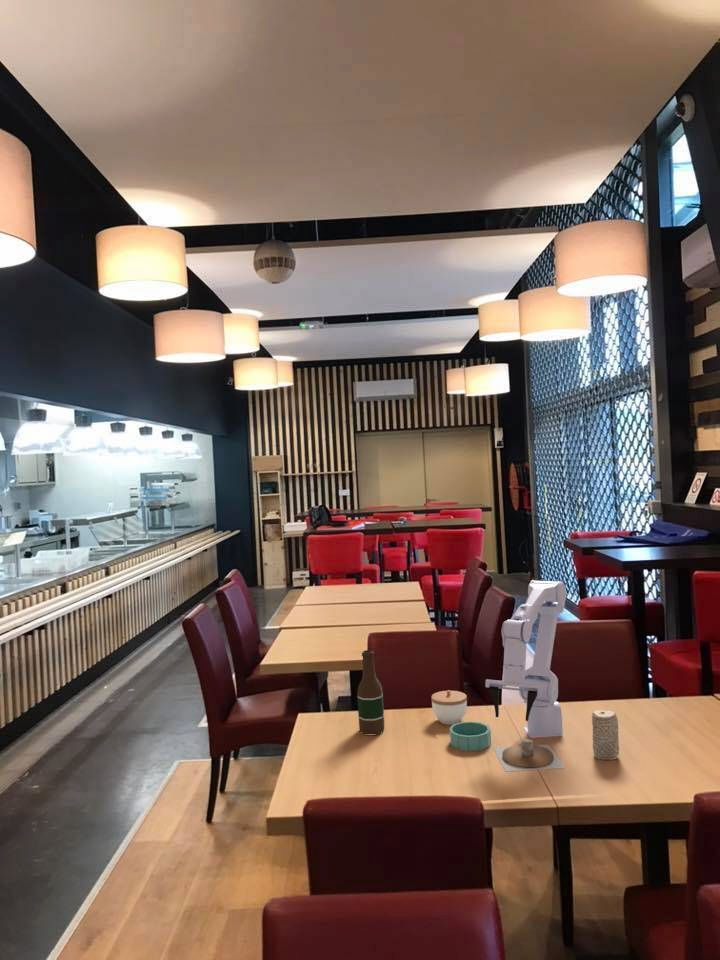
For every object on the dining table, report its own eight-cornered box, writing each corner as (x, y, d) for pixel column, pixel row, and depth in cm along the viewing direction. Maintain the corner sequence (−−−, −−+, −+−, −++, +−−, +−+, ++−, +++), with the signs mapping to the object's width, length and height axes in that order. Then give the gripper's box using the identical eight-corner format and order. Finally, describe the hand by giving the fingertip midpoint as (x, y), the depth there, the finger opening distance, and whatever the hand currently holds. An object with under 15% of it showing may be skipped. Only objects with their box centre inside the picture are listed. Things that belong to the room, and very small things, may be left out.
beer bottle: (389, 728, 214) (385, 649, 213) (376, 737, 207) (371, 655, 206) (368, 724, 218) (363, 646, 217) (354, 733, 211) (349, 653, 211)
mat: (548, 746, 194) (548, 744, 193) (565, 770, 178) (564, 767, 178) (493, 750, 193) (493, 747, 193) (505, 773, 178) (505, 771, 178)
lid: (545, 746, 192) (544, 730, 192) (559, 766, 180) (559, 749, 179) (497, 749, 192) (497, 733, 192) (508, 769, 179) (507, 752, 179)
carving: (589, 761, 183) (587, 714, 183) (599, 750, 189) (596, 706, 189) (614, 766, 179) (611, 719, 179) (623, 755, 185) (621, 709, 185)
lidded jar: (467, 714, 221) (465, 684, 221) (468, 727, 211) (467, 696, 211) (432, 715, 223) (430, 685, 222) (432, 728, 212) (431, 696, 212)
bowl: (486, 736, 203) (485, 720, 203) (494, 751, 192) (493, 735, 192) (448, 738, 203) (447, 722, 203) (453, 754, 192) (453, 737, 192)
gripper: (486, 663, 187) (483, 716, 185) (542, 669, 184) (540, 723, 181) (487, 662, 194) (484, 714, 191) (542, 668, 190) (540, 720, 188)
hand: (511, 718), depth 187 cm, fingers open, 7 cm apart
